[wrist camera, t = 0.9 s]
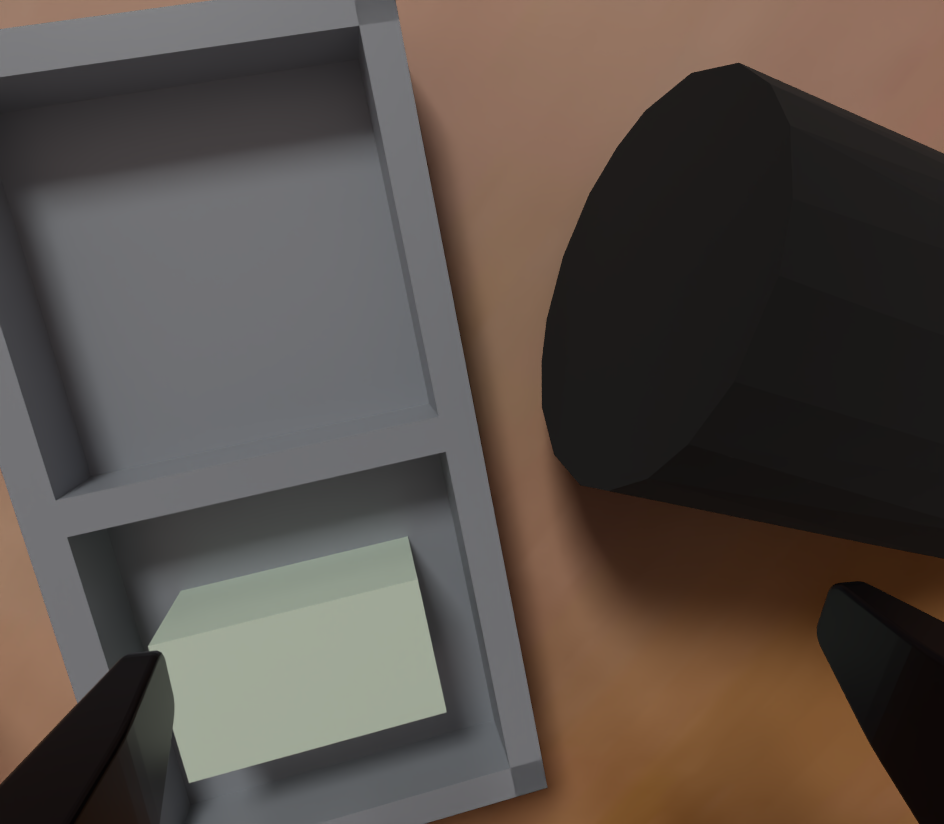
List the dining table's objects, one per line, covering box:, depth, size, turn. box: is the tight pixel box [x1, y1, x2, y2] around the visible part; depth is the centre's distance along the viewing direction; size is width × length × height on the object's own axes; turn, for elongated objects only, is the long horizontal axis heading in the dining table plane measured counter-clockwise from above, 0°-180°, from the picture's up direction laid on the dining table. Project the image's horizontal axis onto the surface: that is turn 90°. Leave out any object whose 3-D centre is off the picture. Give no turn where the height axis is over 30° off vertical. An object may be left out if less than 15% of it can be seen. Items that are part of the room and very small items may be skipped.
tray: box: [0, 0, 547, 824], centre depth 20 cm, size 23×12×4 cm, turn 11°
